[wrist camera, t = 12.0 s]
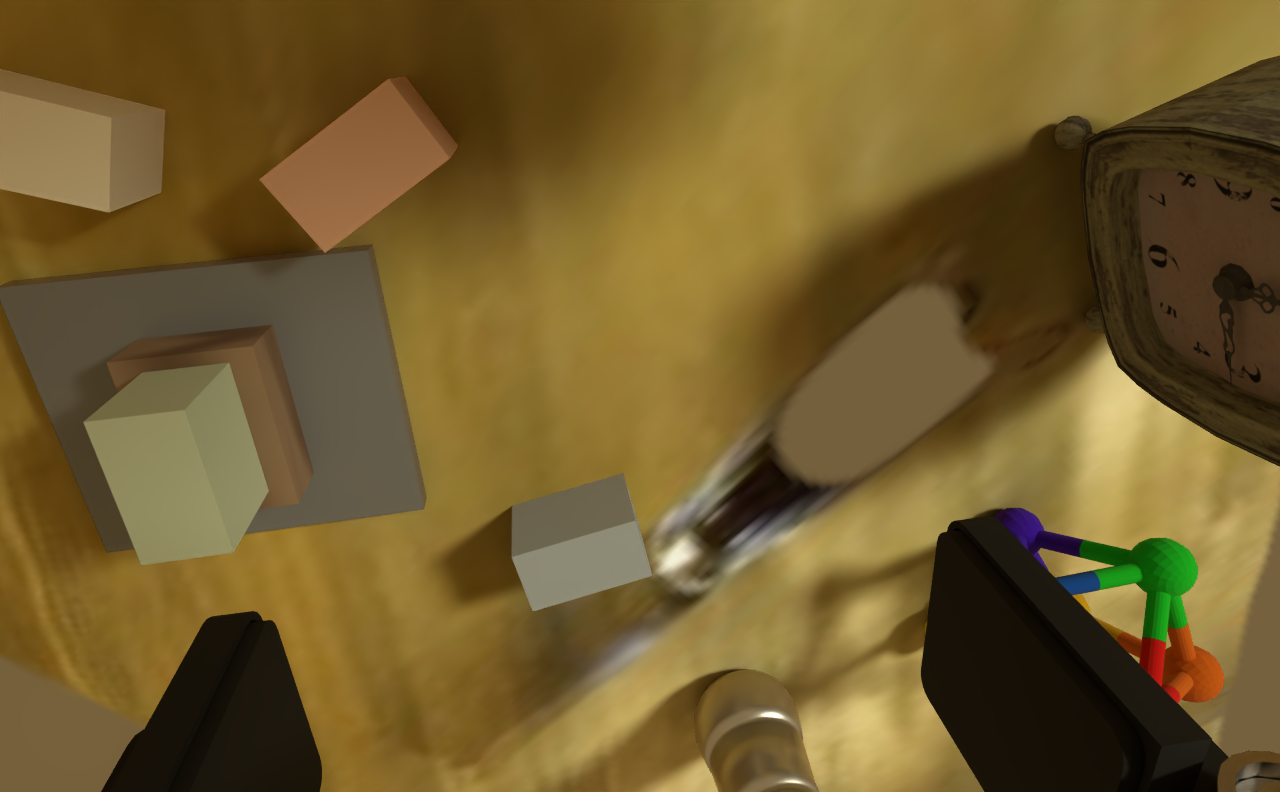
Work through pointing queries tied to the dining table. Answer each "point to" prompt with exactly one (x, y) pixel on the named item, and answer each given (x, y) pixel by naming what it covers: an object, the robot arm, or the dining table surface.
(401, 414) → the slate board
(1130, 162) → the tabletop clock
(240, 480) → the brick sage
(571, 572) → the grey block
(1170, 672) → the educational toy
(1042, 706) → the robot arm
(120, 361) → the brick walnut
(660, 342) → the dining table surface
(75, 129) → the brick cream
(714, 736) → the plastic bottle
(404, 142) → the brick terracotta
